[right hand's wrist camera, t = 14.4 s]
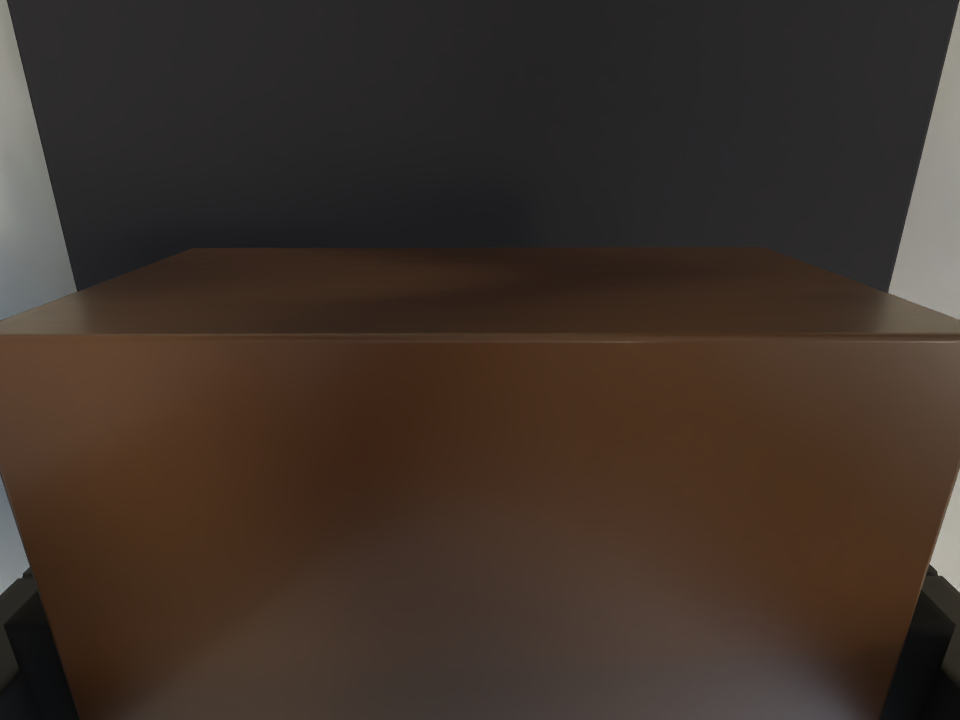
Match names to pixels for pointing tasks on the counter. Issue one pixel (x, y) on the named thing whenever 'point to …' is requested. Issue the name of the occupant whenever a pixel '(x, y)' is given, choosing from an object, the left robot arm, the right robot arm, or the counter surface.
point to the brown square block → (479, 483)
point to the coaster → (483, 124)
